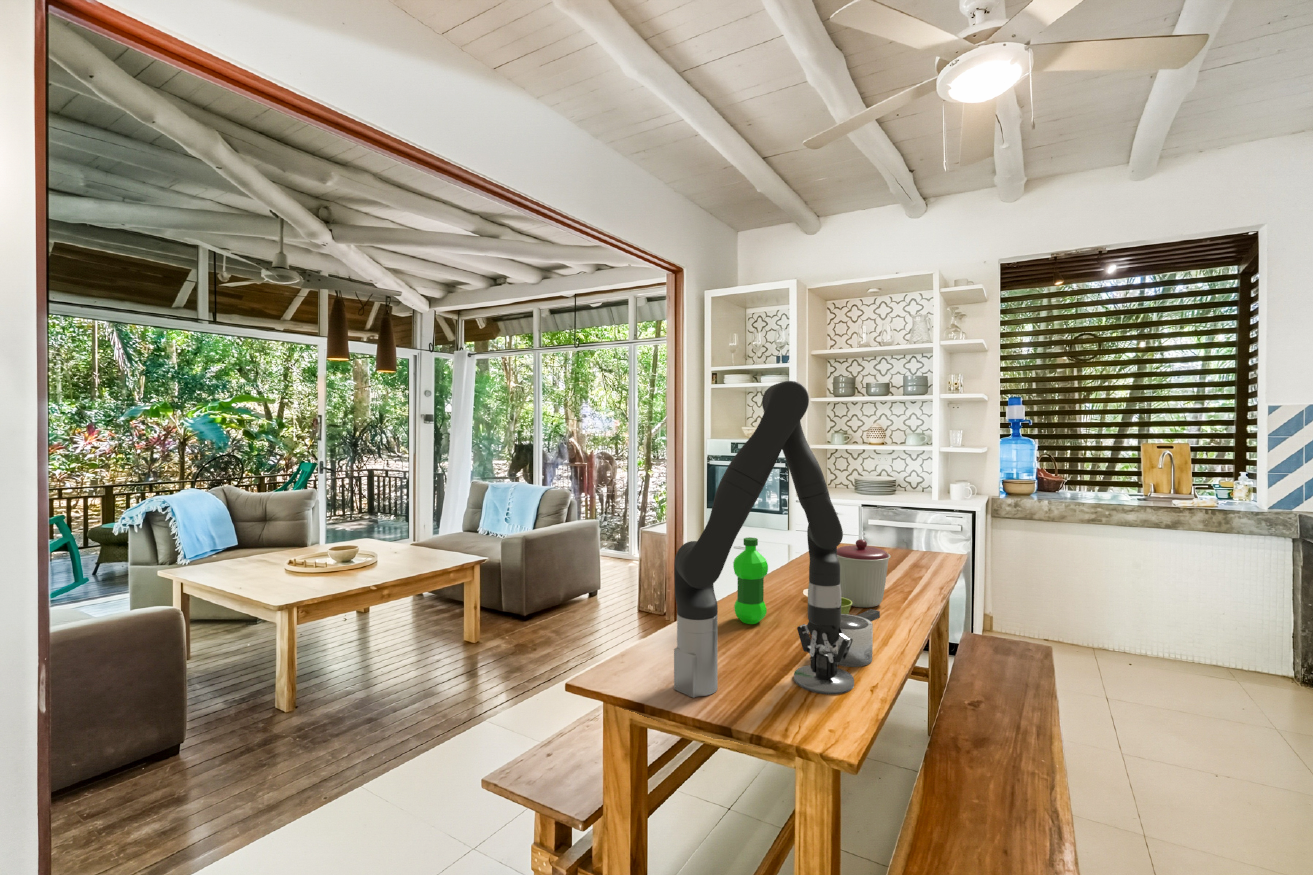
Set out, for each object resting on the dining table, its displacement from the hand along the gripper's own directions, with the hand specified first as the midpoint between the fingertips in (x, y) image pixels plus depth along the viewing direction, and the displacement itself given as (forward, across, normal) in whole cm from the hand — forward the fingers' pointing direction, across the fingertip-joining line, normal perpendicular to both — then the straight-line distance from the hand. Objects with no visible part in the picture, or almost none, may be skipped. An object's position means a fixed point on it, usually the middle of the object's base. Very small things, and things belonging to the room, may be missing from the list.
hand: (823, 673), depth 147 cm
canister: (+2, -24, +61) cm, 66 cm away
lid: (+2, 0, 0) cm, 2 cm away
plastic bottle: (+2, -38, +21) cm, 44 cm away
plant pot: (+2, -16, +32) cm, 36 cm away
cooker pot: (+2, -4, +20) cm, 21 cm away
